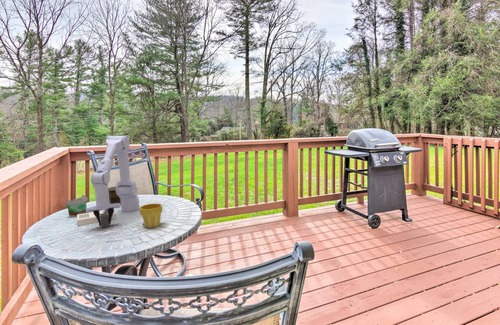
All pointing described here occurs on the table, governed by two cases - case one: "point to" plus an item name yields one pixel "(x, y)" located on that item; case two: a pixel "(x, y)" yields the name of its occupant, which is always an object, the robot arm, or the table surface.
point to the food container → (77, 206)
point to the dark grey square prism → (104, 220)
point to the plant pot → (151, 214)
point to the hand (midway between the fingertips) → (105, 224)
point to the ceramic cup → (113, 196)
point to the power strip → (90, 218)
